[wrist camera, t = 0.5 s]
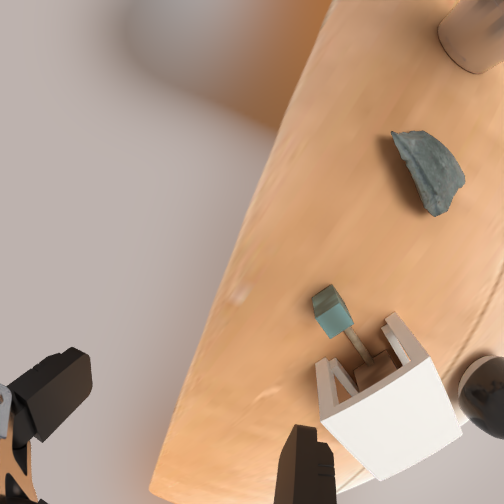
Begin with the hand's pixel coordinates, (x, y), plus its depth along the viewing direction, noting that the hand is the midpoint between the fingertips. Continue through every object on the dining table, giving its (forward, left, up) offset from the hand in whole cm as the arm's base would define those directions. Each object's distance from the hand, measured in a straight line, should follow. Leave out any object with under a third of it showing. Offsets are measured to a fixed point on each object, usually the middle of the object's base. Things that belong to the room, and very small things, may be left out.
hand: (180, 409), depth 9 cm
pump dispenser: (-17, +35, -25) cm, 46 cm away
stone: (-23, +3, -25) cm, 34 cm away
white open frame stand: (-4, +23, -25) cm, 34 cm away
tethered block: (-4, +16, -25) cm, 29 cm away
